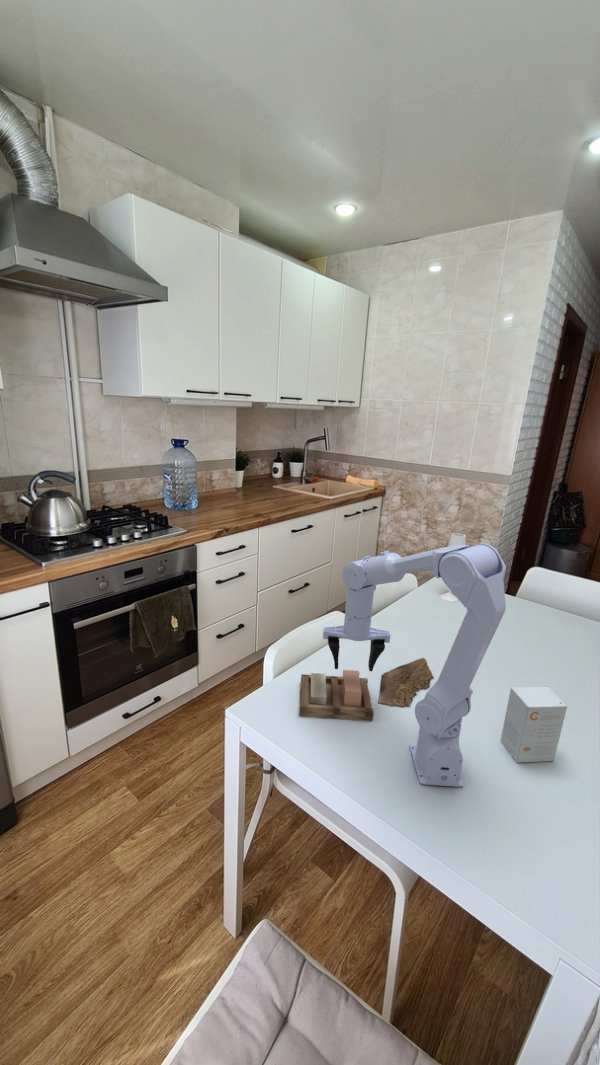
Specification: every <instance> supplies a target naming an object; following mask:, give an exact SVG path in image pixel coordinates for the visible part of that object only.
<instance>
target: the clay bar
mask: <svg viewBox="0 0 600 1065" xmlns="http://www.w3.org/2000/svg"><path fill="white" fill-rule="evenodd" d="M341 677H342V687H341V689H342V700H343V706H345V707H360V705H361V695H362V690H361V684H360V678H361V677H360V673H359V670H353V669H342V676H341Z"/></svg>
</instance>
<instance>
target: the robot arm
mask: <svg viewBox="0 0 600 1065" xmlns="http://www.w3.org/2000/svg"><path fill="white" fill-rule="evenodd" d="M506 569H507V566H506V564H505V562H504V561H503V558H502V557H501V554H500V553H499V552H498V550H497V549H496V548H495V547H494V546H492V545H490V544H487V543H484V542H481V543H476V544H474V545H470V544H465V545H460V546H451V547H449V546H445V547H439V548H436V549H432V550H428V551H423V552H419V553H415V554H411V555H408V556H403V557H402V556H401V555H400V554H398V553H396V552H390V550H385V551H382V552H381V551H380V552H379V555H377V556H376V555H375V556H371V555H367V556H363V558H362V559H359V560H358V559H357V560H354V561H350V562H348V563H346V564H345V565H344V567H343V569H342V574H341V575H342V579H343V582H344V584H345V585H346V586H347V587H346V598H345V610H344V621H343V625H338V626H336V625H335V626H324V627H323V630H322V631H323V632H322V639H323V640H327V646H328V648H329V650H330V651H331V654H332V658H333V661H334V669H335V670H339V655H340V640H341V639H342V640H343V639H344V640H350V641H354V642H364V641H366V642H367V641H370V649H369V650H370V651H369V656H368V663H367V664H368V666H367V668H368V671H369V672H373V670H374V667H375V665H376V663H377V660H378V659H379V657H380V656H381V655H382V653H383V652H384V651H385V648H386V643H387V644H390V642H391V633H390V631H389V630H385V629H380V628H374V627H371V624H372V615H373V614H372V613H373V612H372V611H373V605H374V604H373V603H374V592H375V591H376V590H377V586H379V585H385V584H392V583H398V582H400V581H402V580H403V579H404V577H405V575H406V574H407V575H408V574H413V573H422V572H430V571H431V572H433V574H434V577H435V578H436V579H440V578H441V580H442V581H443V583H444V585H445V586H446V587H447V588H448V590H449V589H450V590H451V591H452V594H453V595H455V596H456V597H457V598H458V601H459V602H460V603H461V604H462V606H463V607H464V608H466V613H465V615H464V617H463V619H462V623H461V625H460V627H459V630H458V632H457V634H456V637H455V639H454V641H453V643H452V646H451V647H450V651H449V653H448V656H447V658H446V660H445V662H444V665H443V668H442V669H441V672H440V675H439V677H438V679H437V680H436V681H435V682H434V684H433V685H432V686H431V687H429V688H430V689H429V690H427V692H426V693H425V696H424V698H423V699H421V700H420V701H418V702H417V703H416V704H415V706H414V716H415V719H416V722H417V723H418V725H419V730H418V736H417V743H416V744H410V745H409V749H410V753H411V757H412V761H413V764H414V768H415V771H416V775H417V779H418V782H419V784H421V785H427V786H428V785H429V786H443V787H445V786H446V787H457V788H462V787H464V781H463V779H462V776H461V772H462V767H463V762H464V758H463V754H462V751H461V748H460V735H461V730H462V721H463V718H464V717H467V715H469V713H470V711H471V710H472V709H471V708H472V703H471V702H472V701H471V698H472V694H473V692H474V691H473V689H472V688H471V685H472V683H473V681H474V678H475V676H476V674H477V671H478V670H479V667H480V665H481V664H482V661H483V659H484V657H485V655H486V653H487V650H488V648H489V646H490V645H491V642H492V640H493V638H494V636H495V633H496V632H497V629H498V628H499V625H500V623H501V621H502V619H503V616H504V614H505V612H506V609H507V607H506V605H507V604H506V594H505V582H504V578H505V574H506Z"/></svg>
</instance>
